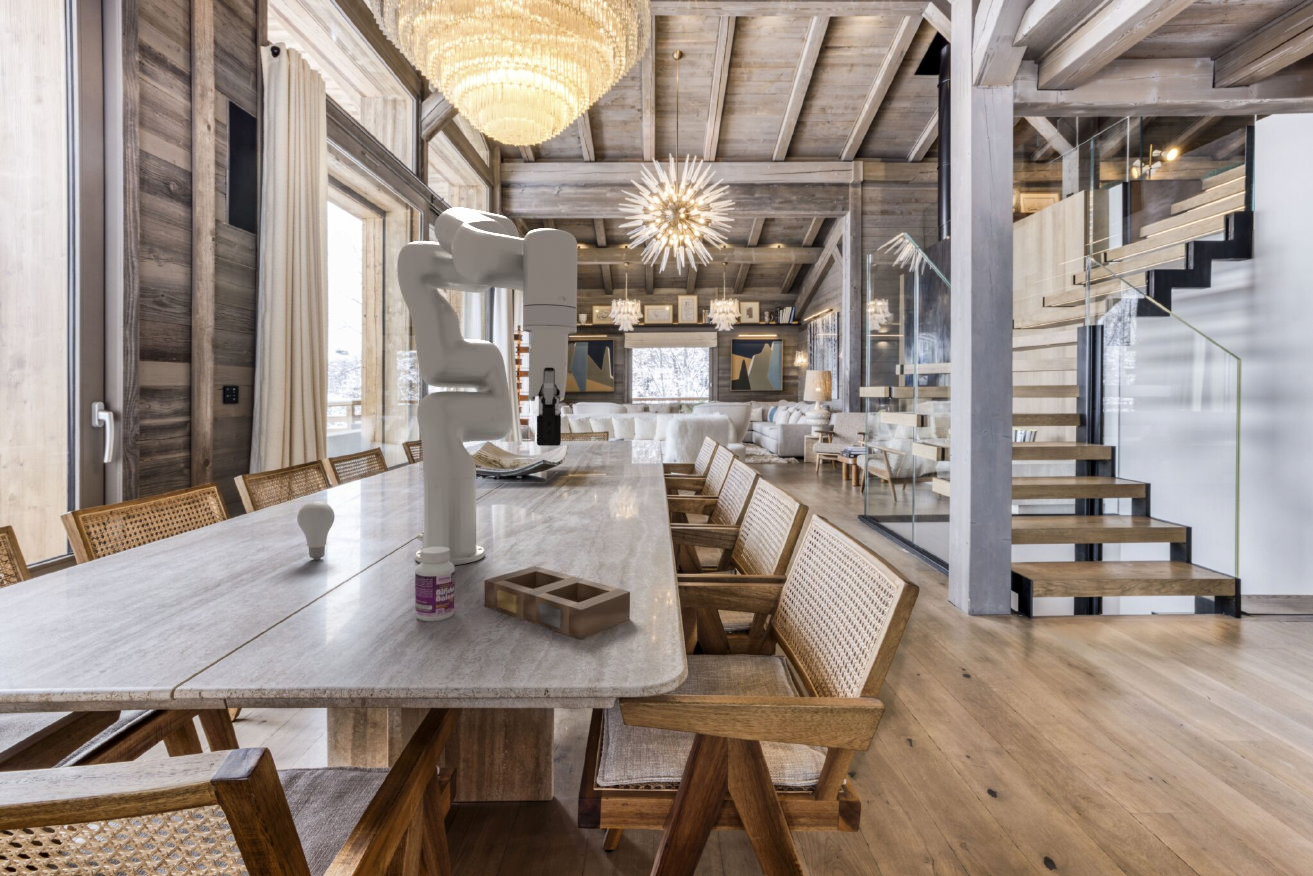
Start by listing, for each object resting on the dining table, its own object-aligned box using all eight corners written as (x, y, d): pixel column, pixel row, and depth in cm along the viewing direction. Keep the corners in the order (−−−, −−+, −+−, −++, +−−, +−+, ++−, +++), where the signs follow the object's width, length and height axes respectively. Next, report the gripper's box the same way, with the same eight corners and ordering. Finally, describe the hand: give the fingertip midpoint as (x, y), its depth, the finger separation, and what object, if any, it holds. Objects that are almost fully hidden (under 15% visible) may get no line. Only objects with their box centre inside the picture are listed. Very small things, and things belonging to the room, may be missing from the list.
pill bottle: (442, 624, 90) (442, 555, 89) (407, 620, 91) (407, 552, 90) (461, 611, 95) (461, 546, 94) (428, 607, 96) (428, 543, 95)
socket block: (482, 606, 97) (482, 580, 96) (534, 590, 105) (534, 566, 105) (578, 640, 85) (579, 610, 84) (629, 618, 93) (630, 591, 93)
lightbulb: (324, 564, 117) (323, 504, 116) (291, 563, 117) (289, 503, 117) (341, 555, 123) (340, 498, 123) (309, 555, 124) (308, 498, 123)
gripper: (525, 326, 99) (525, 437, 101) (519, 313, 82) (518, 448, 84) (575, 327, 100) (574, 437, 102) (578, 316, 83) (577, 448, 85)
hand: (549, 442), depth 93 cm, fingers open, 9 cm apart
